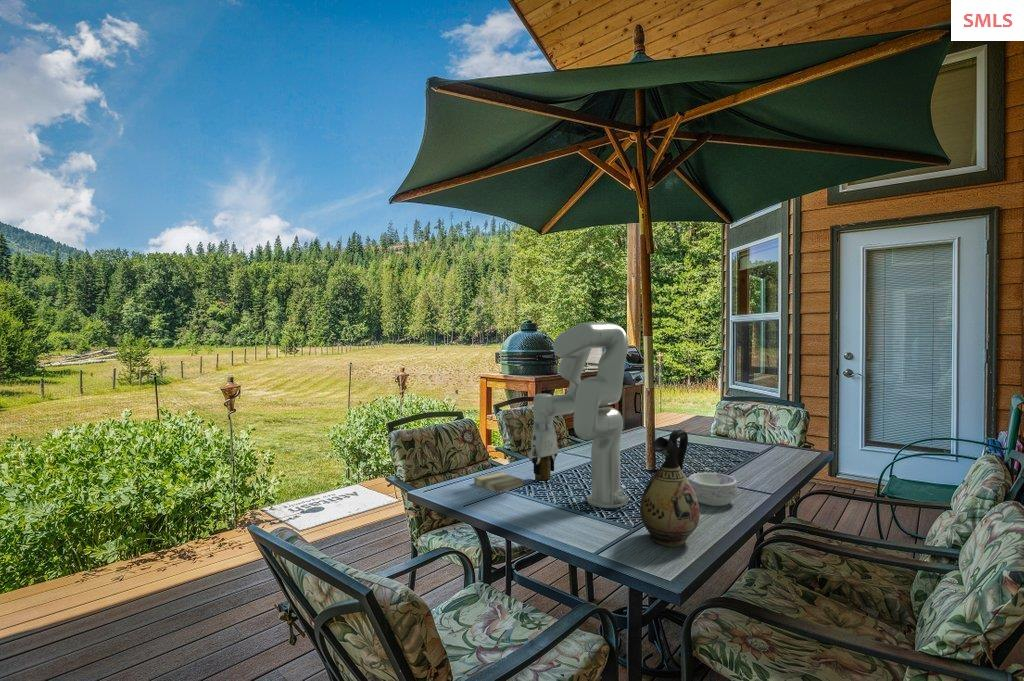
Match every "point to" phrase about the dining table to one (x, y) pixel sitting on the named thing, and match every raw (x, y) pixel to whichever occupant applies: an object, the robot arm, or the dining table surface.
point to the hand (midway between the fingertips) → (544, 471)
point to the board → (498, 481)
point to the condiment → (544, 469)
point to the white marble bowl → (713, 488)
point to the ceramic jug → (670, 496)
